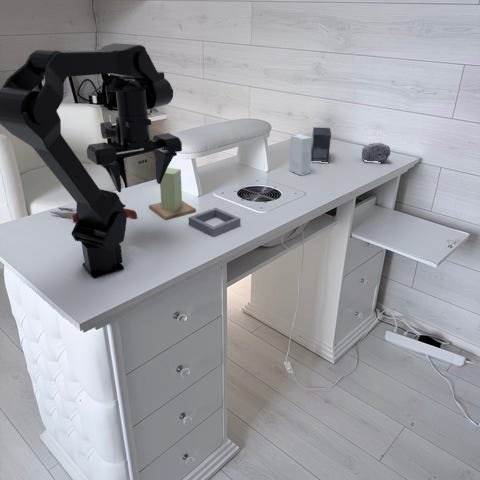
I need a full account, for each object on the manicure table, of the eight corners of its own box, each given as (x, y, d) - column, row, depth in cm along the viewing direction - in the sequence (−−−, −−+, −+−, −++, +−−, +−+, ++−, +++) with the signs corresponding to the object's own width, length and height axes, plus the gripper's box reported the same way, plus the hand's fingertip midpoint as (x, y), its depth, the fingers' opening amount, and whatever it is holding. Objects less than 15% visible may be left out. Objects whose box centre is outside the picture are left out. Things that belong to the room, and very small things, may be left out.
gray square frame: (213, 236, 103) (213, 229, 102) (188, 224, 108) (188, 217, 107) (240, 225, 108) (240, 218, 108) (215, 214, 114) (215, 207, 113)
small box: (310, 154, 165) (312, 126, 160) (327, 155, 164) (330, 127, 160) (310, 162, 156) (313, 133, 151) (328, 164, 155) (332, 134, 150)
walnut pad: (165, 219, 110) (165, 217, 110) (149, 208, 117) (148, 205, 116) (195, 211, 115) (195, 209, 115) (178, 201, 122) (178, 198, 121)
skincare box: (310, 173, 145) (313, 137, 139) (299, 176, 143) (303, 139, 137) (297, 168, 149) (300, 133, 144) (287, 171, 147) (290, 135, 142)
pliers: (70, 206, 118) (68, 196, 117) (139, 218, 112) (138, 208, 111) (38, 224, 108) (36, 213, 107) (112, 239, 102) (111, 228, 101)
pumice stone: (364, 162, 166) (356, 161, 158) (369, 141, 164) (361, 139, 156) (392, 166, 161) (385, 165, 152) (397, 145, 159) (390, 143, 151)
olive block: (175, 211, 114) (173, 174, 109) (161, 208, 115) (159, 172, 110) (182, 205, 117) (180, 169, 112) (168, 203, 118) (166, 167, 113)
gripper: (156, 102, 98) (160, 169, 105) (71, 110, 87) (83, 184, 95) (181, 111, 90) (184, 183, 97) (92, 121, 80) (102, 201, 87)
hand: (139, 187), depth 94 cm, fingers open, 9 cm apart
